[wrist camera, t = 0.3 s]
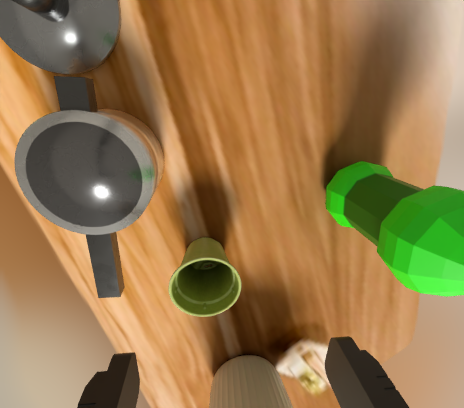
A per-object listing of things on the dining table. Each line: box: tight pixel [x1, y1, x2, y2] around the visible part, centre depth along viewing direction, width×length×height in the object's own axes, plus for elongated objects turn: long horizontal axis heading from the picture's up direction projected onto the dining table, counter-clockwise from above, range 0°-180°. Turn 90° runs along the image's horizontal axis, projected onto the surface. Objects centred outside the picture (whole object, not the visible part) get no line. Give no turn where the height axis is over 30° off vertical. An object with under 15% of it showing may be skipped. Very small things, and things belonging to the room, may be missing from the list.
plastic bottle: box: [325, 161, 464, 296], centre depth 28 cm, size 10×10×25 cm
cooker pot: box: [15, 76, 164, 298], centre depth 31 cm, size 25×13×9 cm, turn 178°
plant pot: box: [169, 237, 241, 317], centre depth 37 cm, size 9×9×9 cm
